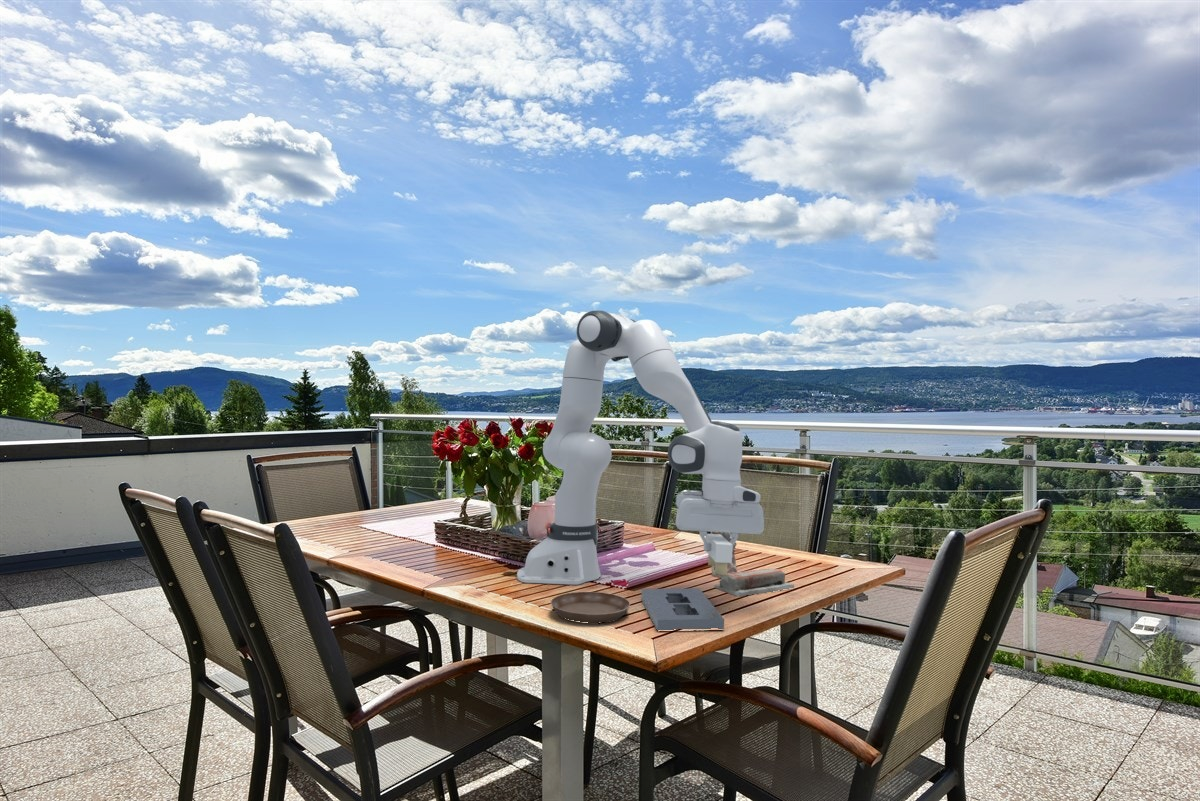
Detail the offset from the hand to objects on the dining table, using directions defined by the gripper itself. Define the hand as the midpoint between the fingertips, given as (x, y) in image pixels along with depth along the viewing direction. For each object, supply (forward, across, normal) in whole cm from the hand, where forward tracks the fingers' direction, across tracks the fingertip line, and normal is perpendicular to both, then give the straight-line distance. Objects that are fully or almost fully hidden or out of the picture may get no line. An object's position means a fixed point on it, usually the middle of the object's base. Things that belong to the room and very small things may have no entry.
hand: (717, 551), depth 170 cm
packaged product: (+13, +13, +17) cm, 25 cm away
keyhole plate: (+13, -9, -6) cm, 17 cm away
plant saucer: (+15, -29, -6) cm, 33 cm away
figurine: (+12, +8, +30) cm, 33 cm away
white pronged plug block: (+4, 0, 0) cm, 4 cm away
